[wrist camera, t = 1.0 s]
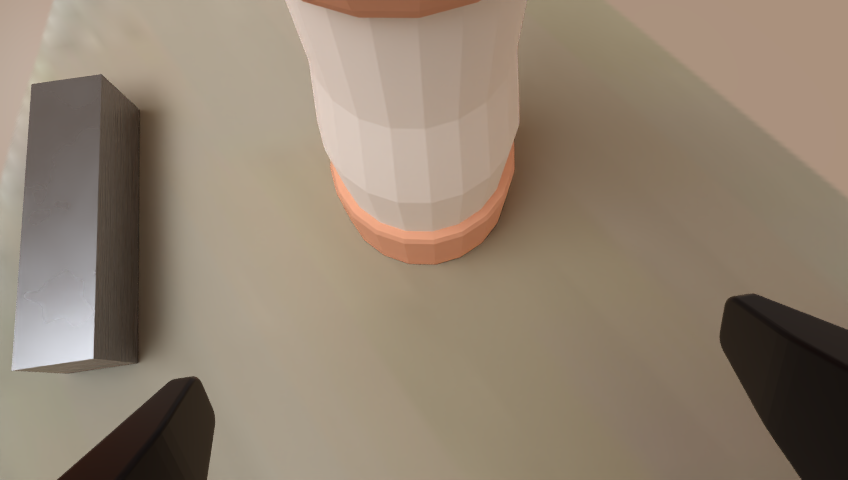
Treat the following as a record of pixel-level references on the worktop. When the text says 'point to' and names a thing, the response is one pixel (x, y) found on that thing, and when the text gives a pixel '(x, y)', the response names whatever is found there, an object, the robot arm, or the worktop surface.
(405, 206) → the salt shaker
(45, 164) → the steel bar
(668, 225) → the worktop surface
